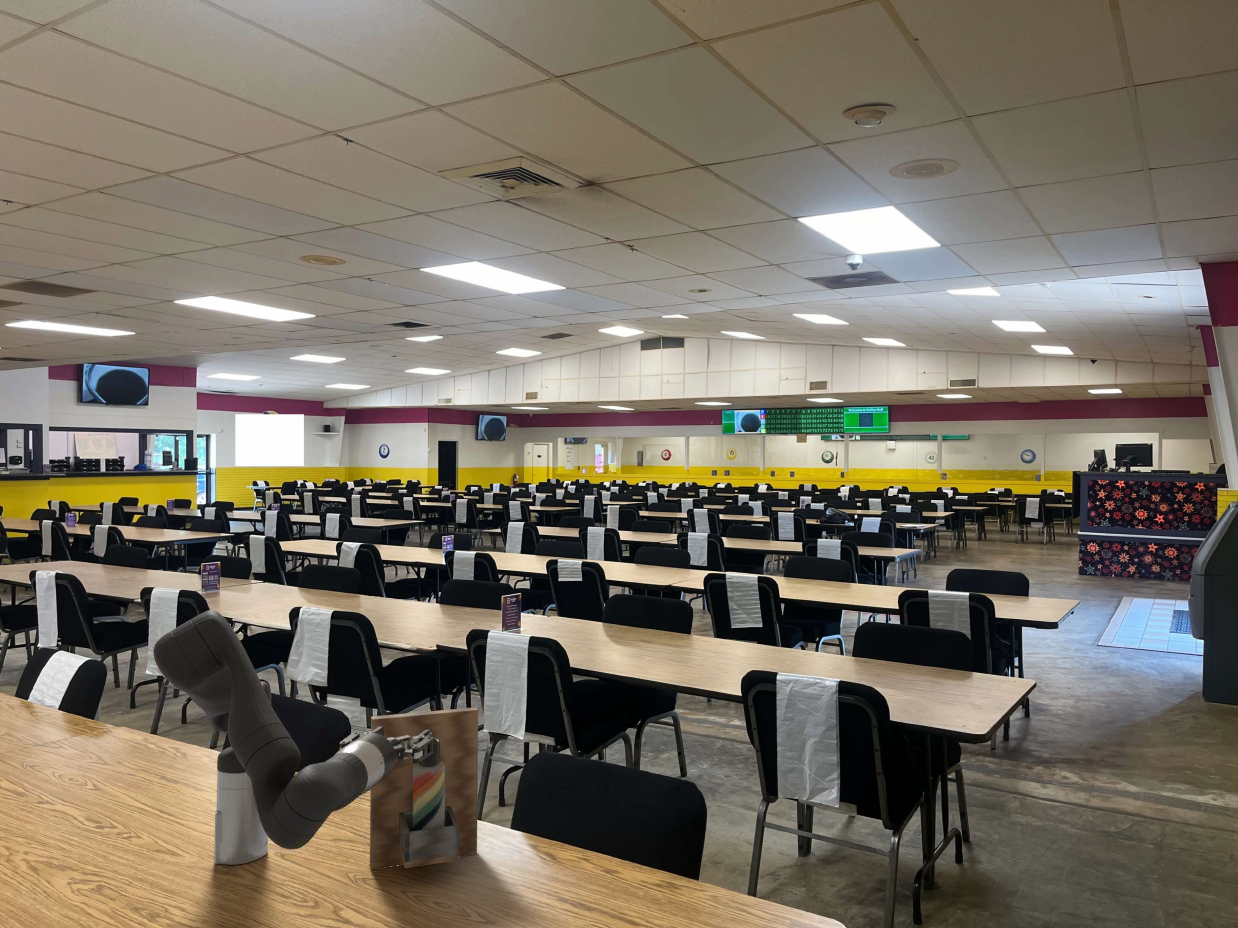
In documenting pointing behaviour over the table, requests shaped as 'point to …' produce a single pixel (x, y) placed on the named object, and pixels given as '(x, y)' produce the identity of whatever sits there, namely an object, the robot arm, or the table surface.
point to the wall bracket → (395, 793)
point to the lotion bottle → (429, 791)
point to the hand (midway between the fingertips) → (405, 733)
